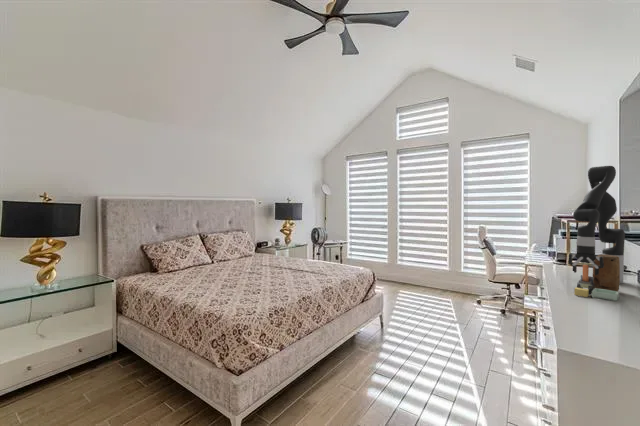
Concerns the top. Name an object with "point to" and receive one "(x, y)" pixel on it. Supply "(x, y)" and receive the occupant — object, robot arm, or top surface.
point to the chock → (581, 292)
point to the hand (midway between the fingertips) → (585, 273)
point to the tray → (605, 294)
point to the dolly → (586, 284)
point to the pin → (585, 272)
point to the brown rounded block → (607, 273)
